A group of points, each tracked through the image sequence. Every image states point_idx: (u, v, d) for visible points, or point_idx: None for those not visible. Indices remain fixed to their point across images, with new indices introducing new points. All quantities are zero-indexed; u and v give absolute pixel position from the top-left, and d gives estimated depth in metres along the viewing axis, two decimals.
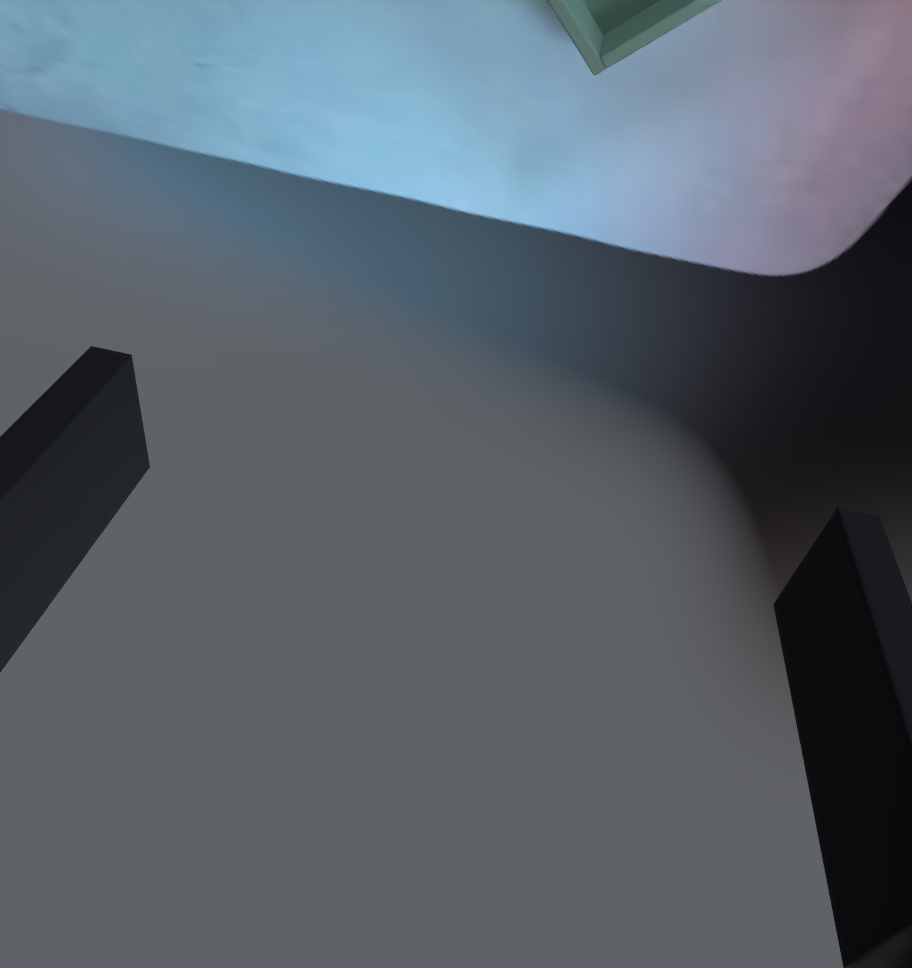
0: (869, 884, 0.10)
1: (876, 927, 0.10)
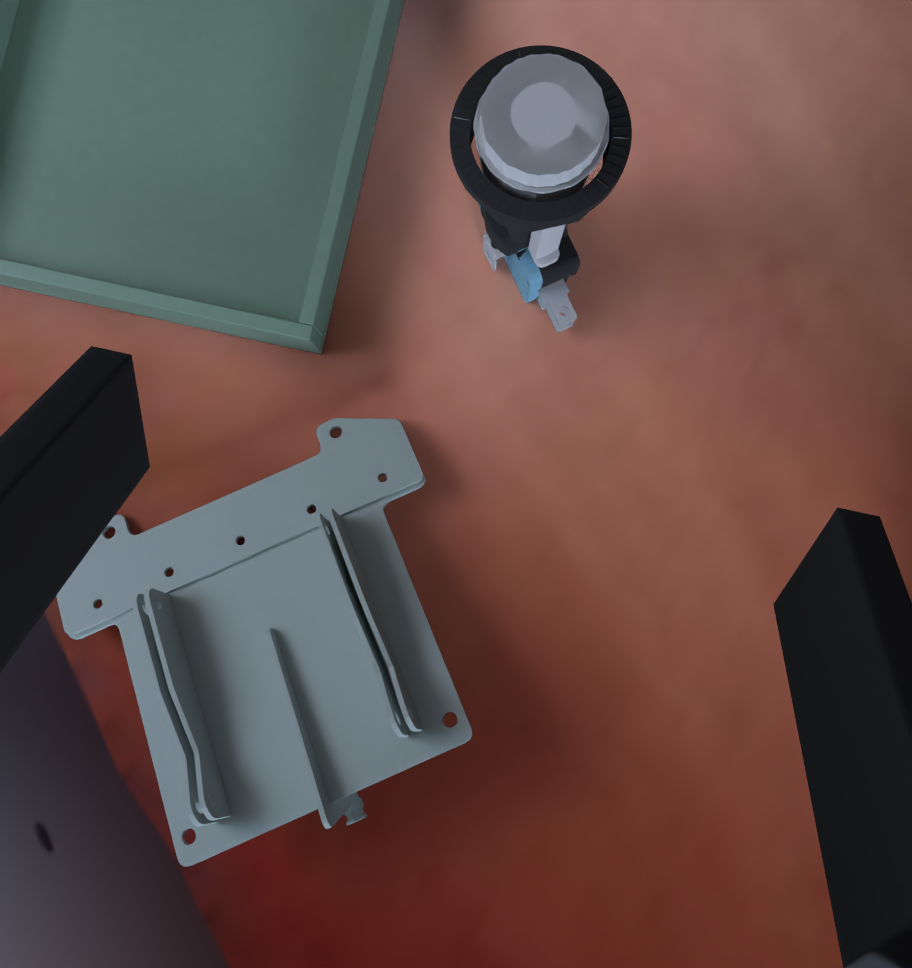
0: (869, 884, 0.10)
1: (876, 928, 0.10)
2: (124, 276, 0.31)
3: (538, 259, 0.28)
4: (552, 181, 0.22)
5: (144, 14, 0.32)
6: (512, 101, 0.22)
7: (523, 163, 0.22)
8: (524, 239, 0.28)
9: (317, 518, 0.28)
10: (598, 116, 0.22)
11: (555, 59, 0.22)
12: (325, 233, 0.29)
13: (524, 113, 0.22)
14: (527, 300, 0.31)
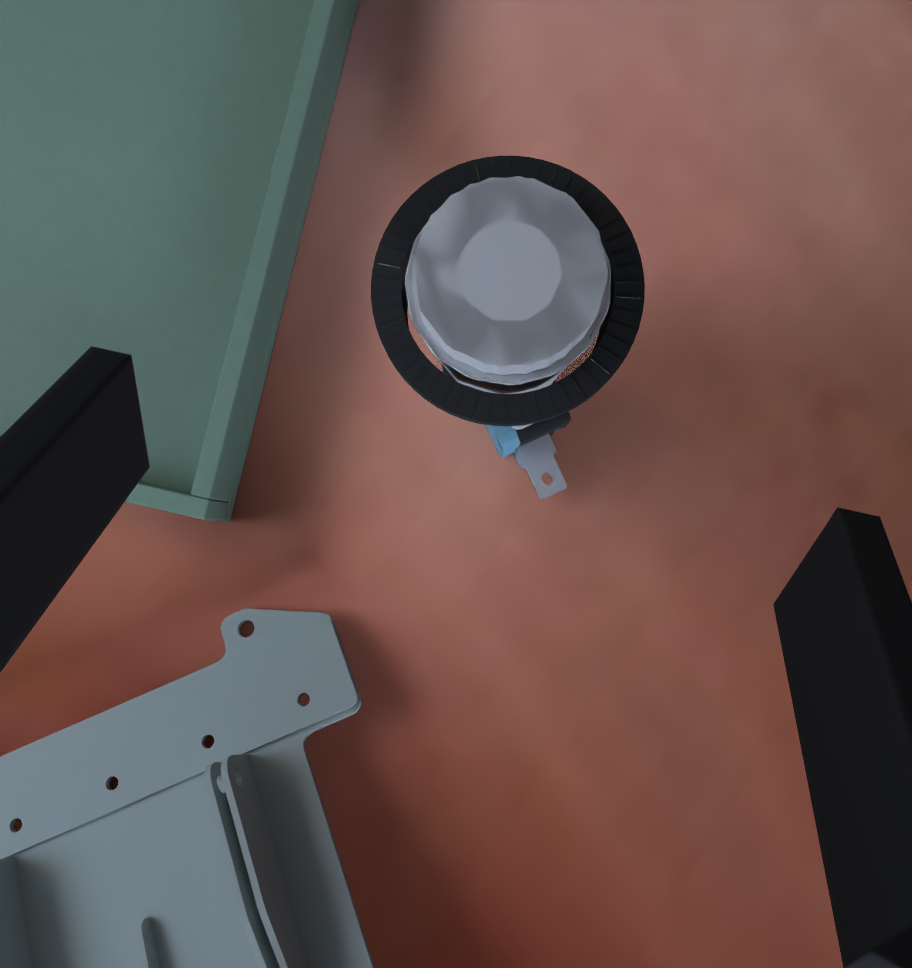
0: (869, 884, 0.10)
1: (875, 927, 0.10)
2: None
3: None
4: (523, 370, 0.14)
5: (5, 70, 0.24)
6: (462, 250, 0.14)
7: (477, 347, 0.14)
8: None
9: (206, 774, 0.20)
10: (594, 274, 0.14)
11: (528, 185, 0.14)
12: (229, 373, 0.22)
13: (480, 269, 0.14)
14: (501, 456, 0.23)
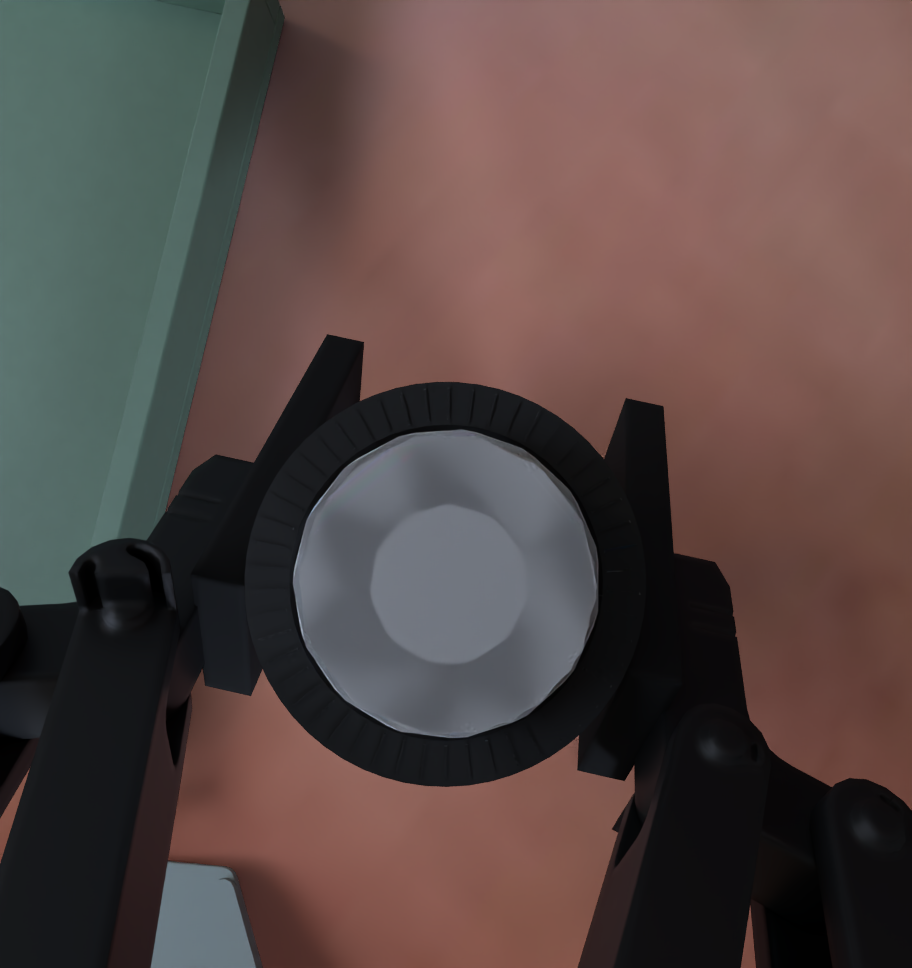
0: None
1: (594, 727, 0.12)
2: None
3: None
4: None
5: None
6: (376, 549, 0.09)
7: (400, 705, 0.09)
8: None
9: None
10: (576, 588, 0.09)
11: (477, 451, 0.09)
12: None
13: (404, 582, 0.09)
14: None
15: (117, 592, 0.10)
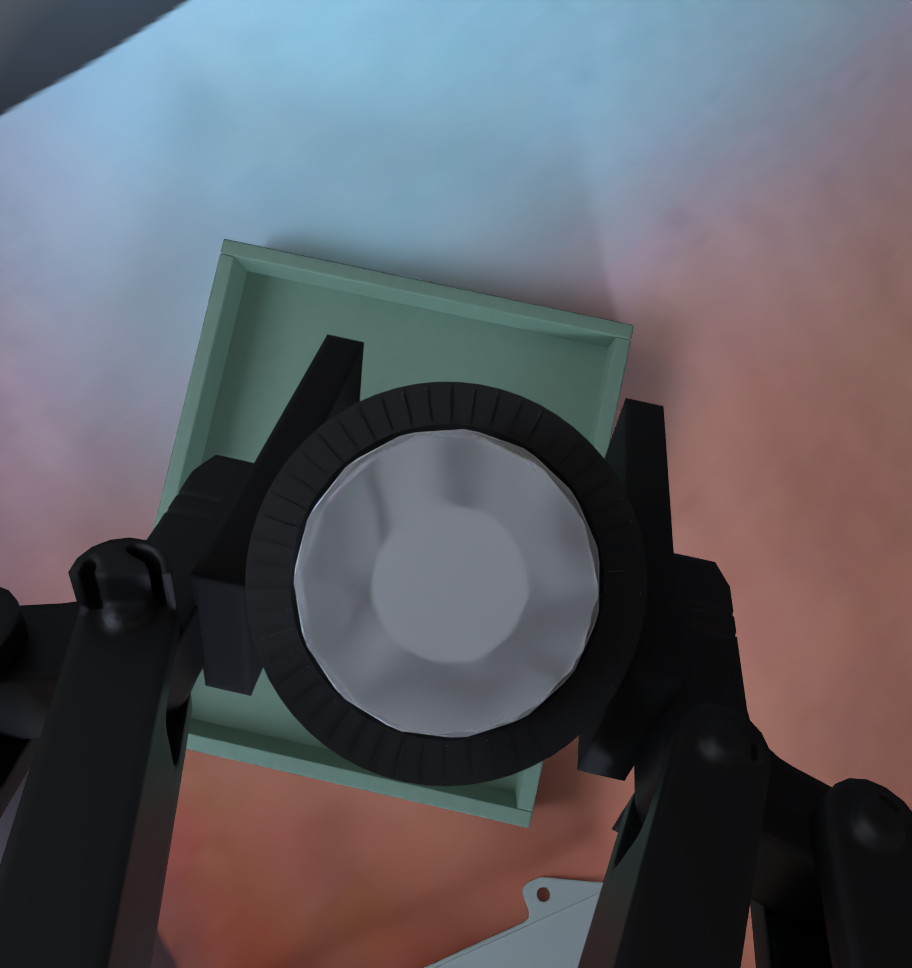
0: None
1: (593, 727, 0.12)
2: None
3: None
4: None
5: None
6: (377, 549, 0.09)
7: (401, 705, 0.09)
8: None
9: None
10: (577, 588, 0.09)
11: (478, 451, 0.09)
12: None
13: (405, 581, 0.09)
14: None
15: (117, 592, 0.10)
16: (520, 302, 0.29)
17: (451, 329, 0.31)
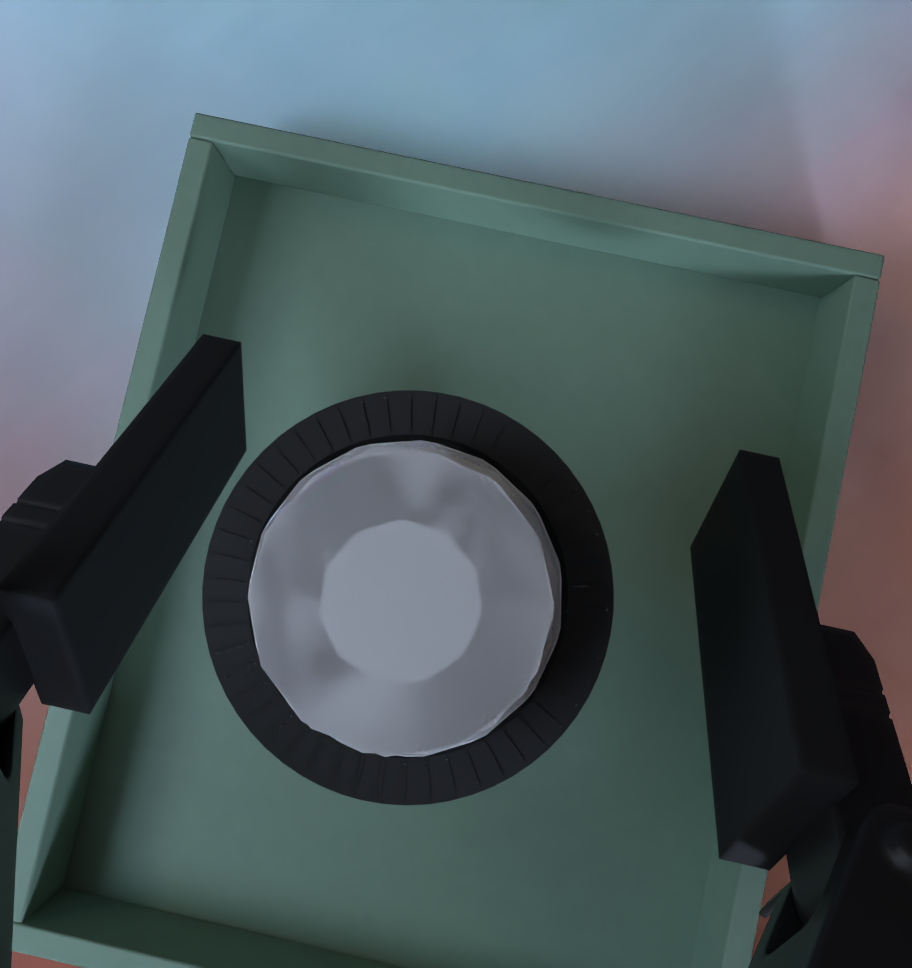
0: (741, 780, 0.11)
1: (743, 817, 0.11)
2: (358, 924, 0.18)
3: None
4: None
5: None
6: (326, 566, 0.09)
7: (349, 726, 0.09)
8: None
9: None
10: (532, 607, 0.09)
11: (430, 464, 0.09)
12: (743, 918, 0.17)
13: (354, 599, 0.09)
14: None
15: None
16: (693, 217, 0.18)
17: (564, 269, 0.19)
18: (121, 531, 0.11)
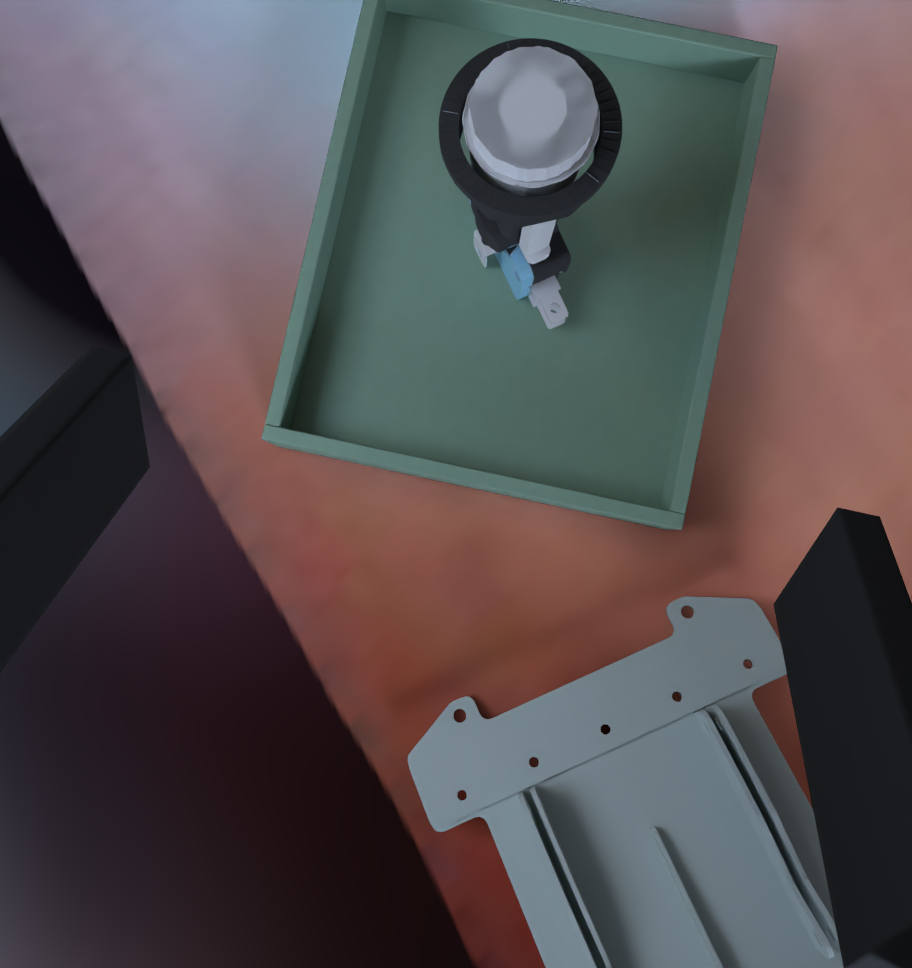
0: (869, 884, 0.10)
1: (876, 928, 0.10)
2: (468, 452, 0.31)
3: (529, 255, 0.28)
4: (542, 175, 0.22)
5: None
6: (501, 94, 0.21)
7: (513, 157, 0.21)
8: (514, 235, 0.28)
9: (707, 718, 0.28)
10: (588, 109, 0.21)
11: (545, 52, 0.21)
12: (695, 418, 0.29)
13: (513, 106, 0.21)
14: (518, 297, 0.31)
15: None
16: (665, 24, 0.30)
17: None
18: None
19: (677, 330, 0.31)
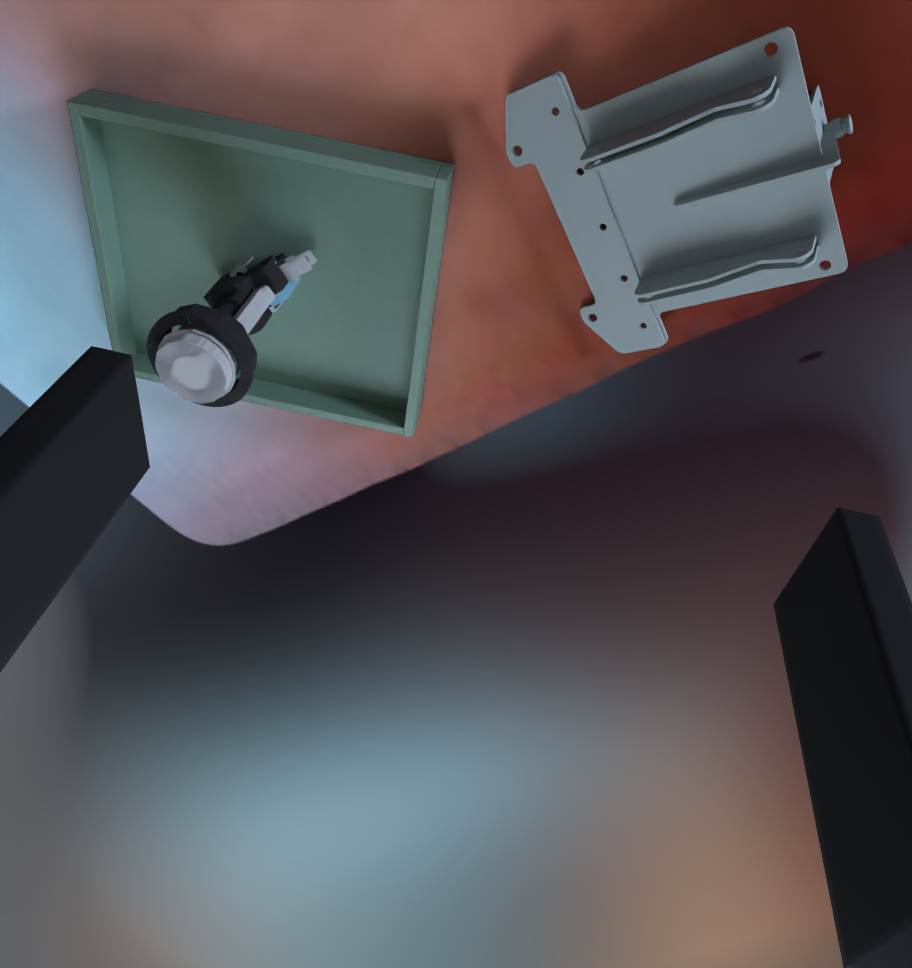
0: (869, 884, 0.10)
1: (876, 927, 0.10)
2: (410, 310, 0.44)
3: (270, 301, 0.42)
4: (226, 364, 0.37)
5: None
6: (188, 387, 0.38)
7: (221, 384, 0.37)
8: None
9: (587, 171, 0.35)
10: (182, 345, 0.36)
11: (158, 366, 0.37)
12: (362, 169, 0.38)
13: (193, 382, 0.38)
14: None
15: None
16: (83, 189, 0.41)
17: (127, 226, 0.44)
18: None
19: (299, 160, 0.40)
